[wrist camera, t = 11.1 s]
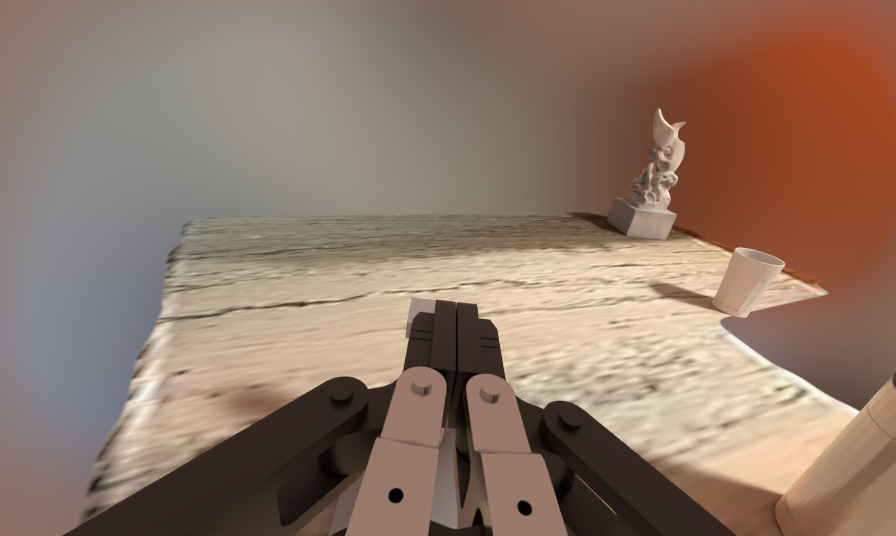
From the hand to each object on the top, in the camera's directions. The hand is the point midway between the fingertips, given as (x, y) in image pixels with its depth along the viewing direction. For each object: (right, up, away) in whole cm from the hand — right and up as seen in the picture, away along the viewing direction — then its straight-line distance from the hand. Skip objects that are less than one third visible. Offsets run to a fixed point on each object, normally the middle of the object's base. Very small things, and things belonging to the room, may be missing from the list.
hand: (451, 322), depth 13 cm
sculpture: (+59, +14, +103) cm, 119 cm away
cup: (+58, -7, +62) cm, 85 cm away
